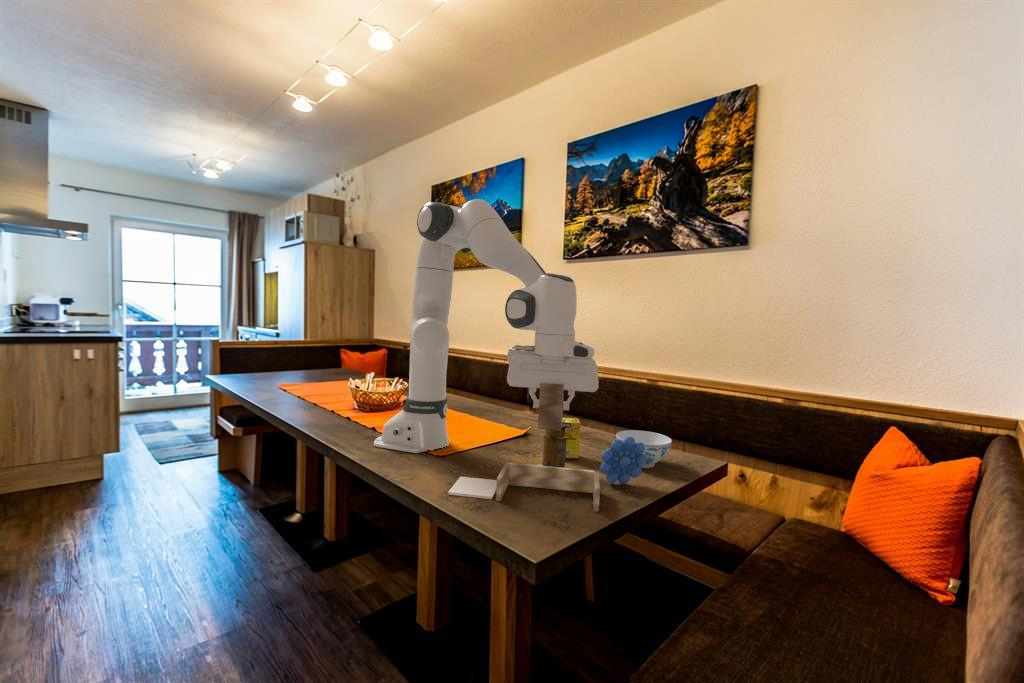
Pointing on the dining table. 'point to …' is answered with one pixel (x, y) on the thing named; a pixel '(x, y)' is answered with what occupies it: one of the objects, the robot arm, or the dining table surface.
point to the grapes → (623, 460)
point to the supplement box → (572, 438)
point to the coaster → (474, 488)
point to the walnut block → (550, 406)
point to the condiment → (554, 448)
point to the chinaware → (649, 444)
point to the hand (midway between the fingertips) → (551, 408)
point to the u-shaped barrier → (549, 479)
